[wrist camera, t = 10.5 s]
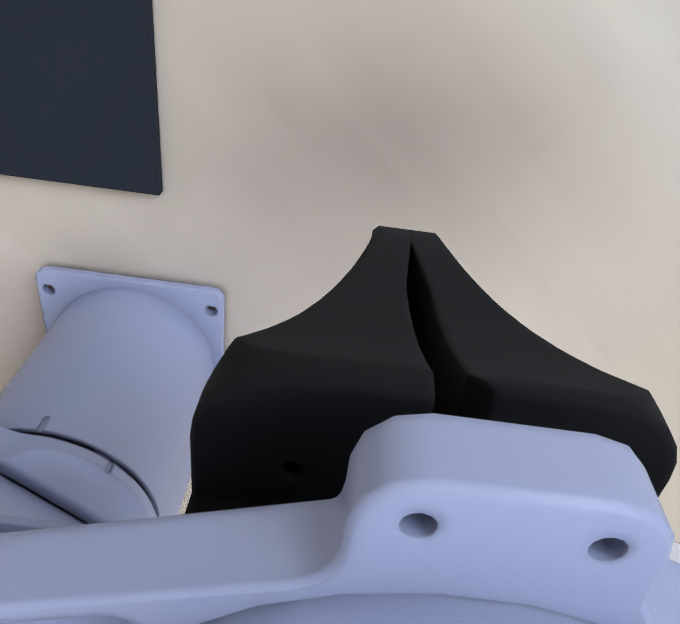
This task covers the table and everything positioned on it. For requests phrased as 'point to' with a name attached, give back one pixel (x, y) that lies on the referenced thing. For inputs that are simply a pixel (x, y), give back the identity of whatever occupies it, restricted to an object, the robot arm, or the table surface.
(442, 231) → the table surface
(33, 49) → the mat
